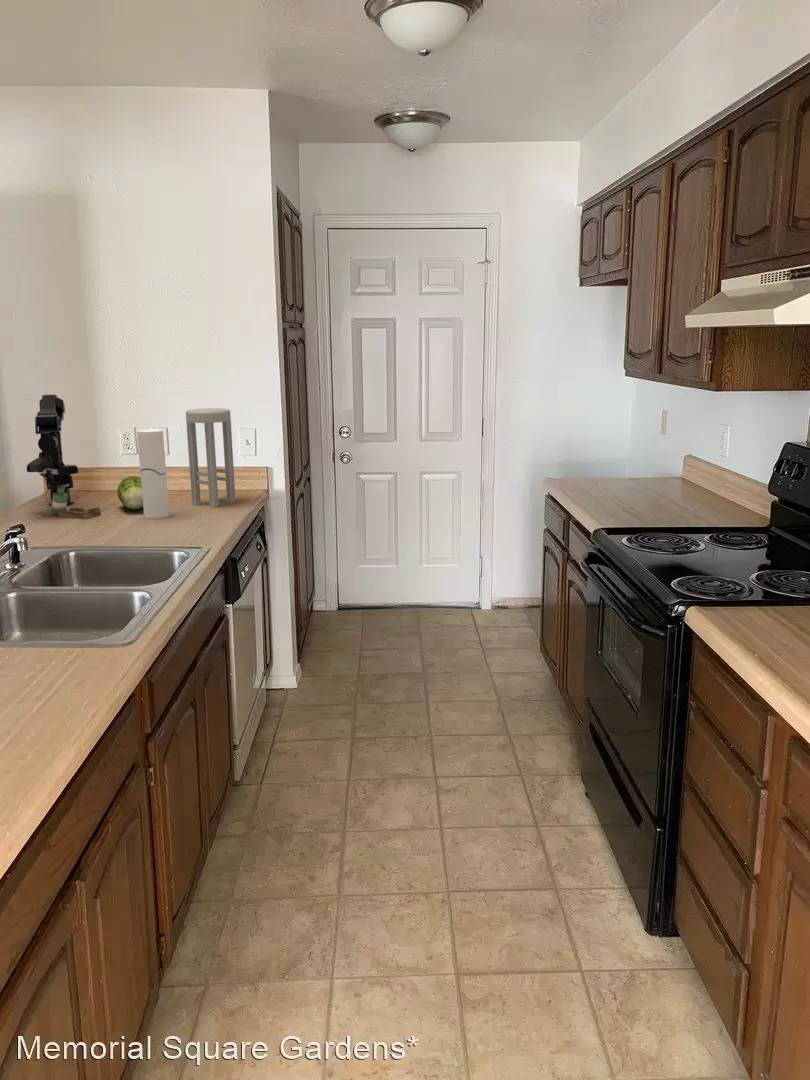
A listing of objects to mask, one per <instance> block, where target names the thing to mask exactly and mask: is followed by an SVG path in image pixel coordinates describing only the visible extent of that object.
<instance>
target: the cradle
mask: <svg viewBox="0 0 810 1080" xmlns="http://www.w3.org/2000/svg"><path fill="white" fill-rule="evenodd" d="M58 512H59V515H58V517H61V518H72V519H81V520H84V519H85V520H88V519H92V518H95V517H99V516H101V515H102V514H101V507H100V506H93V507H91V508H85V507H75V506H73V507H72V506H71V507H69V510H67V509H66V510H60V511H58Z"/></svg>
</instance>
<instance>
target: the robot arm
mask: <svg viewBox="0 0 810 1080" xmlns="http://www.w3.org/2000/svg"><path fill="white" fill-rule="evenodd" d="M38 403H39V411H38V412H37V414H36V416H35V417H34V424H35V425H34V429H35V431H34V433H35V435H40V438H39V439H38V442H37V445H38V448H39V450H41V452H39V453H38V457H37V458H35V459H33V460H32V461H30V462H29V463H27V465H26V472H27V473H39V475H40V476H42V477H43V478H44V479H45V483H46V484H45V485H46V490H47V491H49V490H50V494H49V495H50V503H48V506H52V499H53V493H54V492H57V490H58V488H57V486H58V485H63V486H65V489H64V493H66V494H67V495H68V496H67V505H72V504H74V503H75V501H71V494H70V489H72V488H74V479H73V476H72V475H74V474H79V467H78V466H77V465H76V464H65V462H64V460H63V450H62V448H63V447H62V434H61V431H62V422H63V421H64V419H65V418H64V417H65V416H64V415H65V414H66V407H65V402H64V400H63V399H62V398H60V397H58V395H56V394H43V395H42V396H41V399H39V402H38Z"/></svg>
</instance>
